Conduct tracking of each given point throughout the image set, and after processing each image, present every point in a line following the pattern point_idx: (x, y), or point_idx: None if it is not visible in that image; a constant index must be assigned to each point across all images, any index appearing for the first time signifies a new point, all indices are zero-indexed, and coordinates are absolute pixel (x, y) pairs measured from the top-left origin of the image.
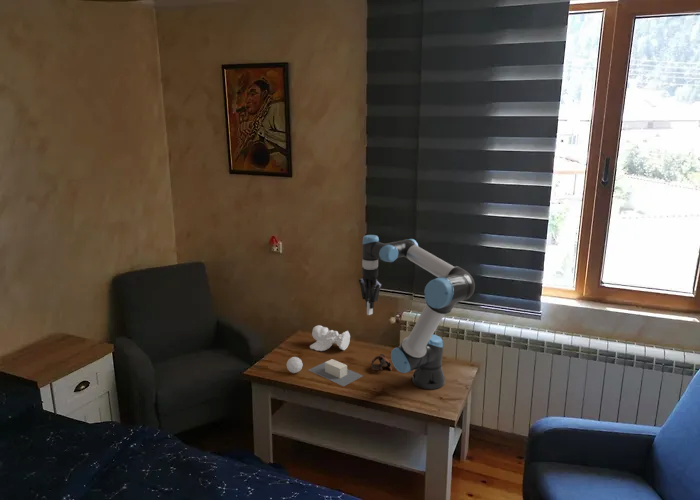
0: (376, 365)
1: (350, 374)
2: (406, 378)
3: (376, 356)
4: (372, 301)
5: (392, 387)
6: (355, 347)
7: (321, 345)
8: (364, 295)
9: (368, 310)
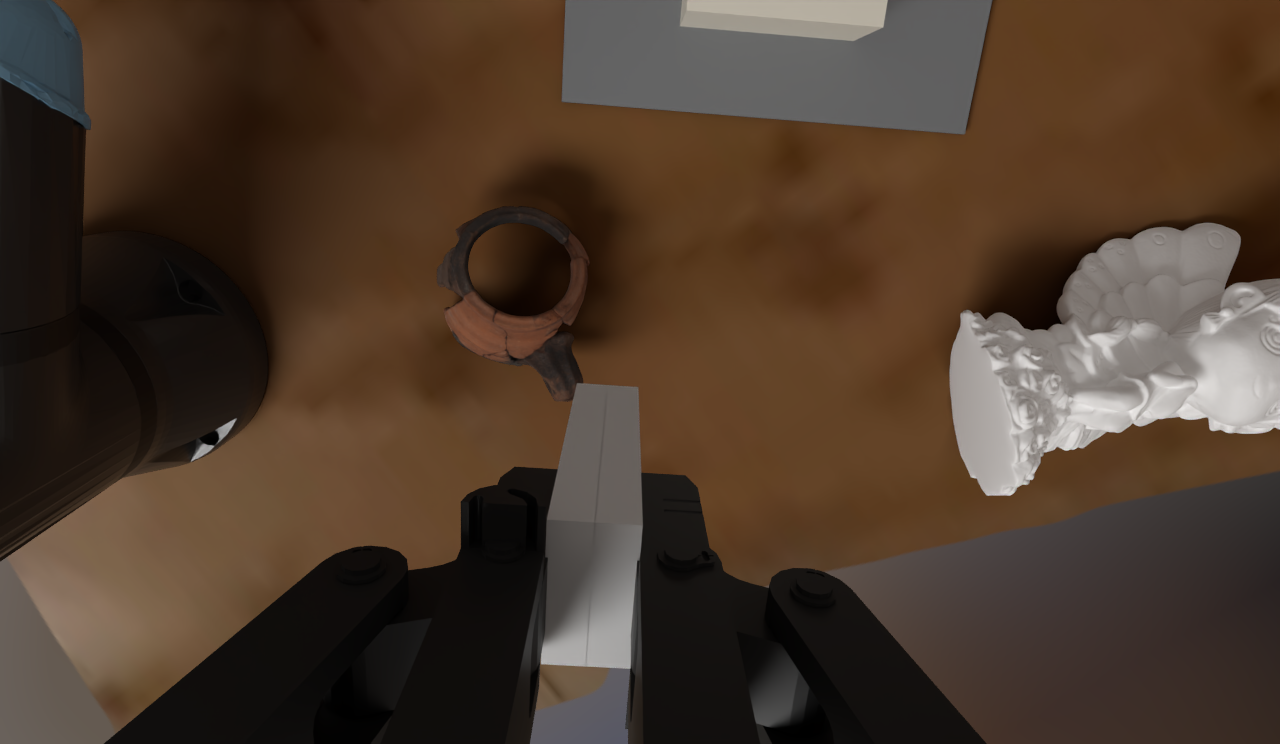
0: (499, 215)
1: (659, 48)
2: (294, 289)
3: (564, 311)
4: (403, 556)
5: (274, 99)
6: (900, 464)
7: (1146, 276)
8: (808, 685)
9: (588, 420)
